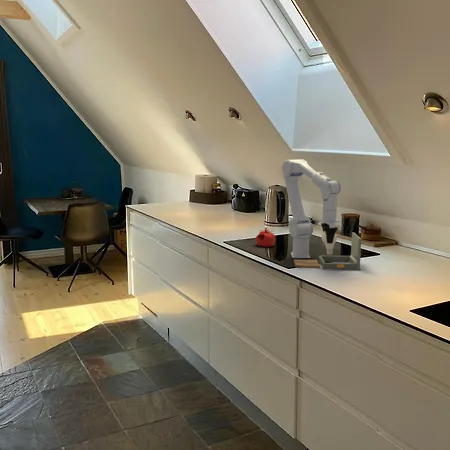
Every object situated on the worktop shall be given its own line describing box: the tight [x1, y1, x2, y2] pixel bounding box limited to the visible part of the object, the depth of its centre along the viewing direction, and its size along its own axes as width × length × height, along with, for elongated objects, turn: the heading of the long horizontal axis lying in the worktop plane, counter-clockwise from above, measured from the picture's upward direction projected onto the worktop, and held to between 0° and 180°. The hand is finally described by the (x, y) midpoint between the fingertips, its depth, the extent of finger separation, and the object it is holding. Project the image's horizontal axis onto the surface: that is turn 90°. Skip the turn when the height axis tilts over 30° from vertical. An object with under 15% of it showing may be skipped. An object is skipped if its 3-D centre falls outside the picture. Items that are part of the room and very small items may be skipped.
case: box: [318, 232, 362, 271], centre depth 229 cm, size 14×15×13 cm
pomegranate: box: [255, 227, 276, 248], centre depth 268 cm, size 10×10×9 cm
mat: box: [293, 259, 321, 269], centre depth 232 cm, size 10×10×1 cm
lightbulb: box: [321, 231, 338, 256], centre depth 230 cm, size 6×6×11 cm
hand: (328, 241), depth 229 cm, fingers closed on lightbulb, 6 cm apart
